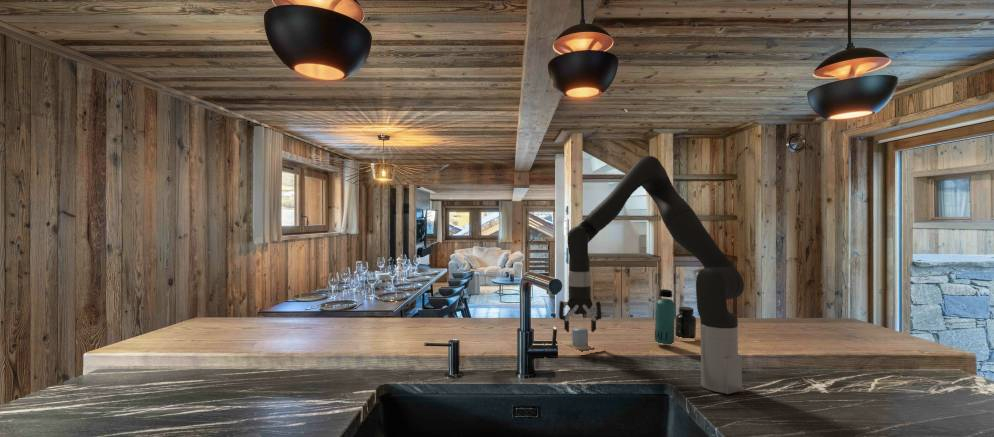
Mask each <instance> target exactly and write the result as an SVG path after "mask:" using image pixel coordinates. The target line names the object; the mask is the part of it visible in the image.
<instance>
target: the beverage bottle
mask: <svg viewBox="0 0 994 437" xmlns="http://www.w3.org/2000/svg"><path fill="white" fill-rule="evenodd" d="M659 296H660V297H661V298H659V299H657V300H656V301H655V314H654V315H655V316H654V318H655V323H654V325H655V326H654V341H656V342H658V343H663V344H672V343H673V344H674V342H675V310H676V306H675V305H676V303H675V302H674V300H672V299H670V298H672V297H673V291H672V290H670V289H664V288H663V289H660V290H659ZM656 342H655V343H656ZM658 343H657V344H658ZM673 344H672V345H673Z"/></svg>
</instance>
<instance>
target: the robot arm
mask: <svg viewBox="0 0 994 437" xmlns="http://www.w3.org/2000/svg"><path fill="white" fill-rule="evenodd" d="M641 187H642V188H643V189H644V190H645V191H646V193H647V194H648V195H649V196H650V198H651V199H652V200H653V202H654V203H655V205H656V206H657V208H658V212H659V215H660V217H661V219H662V222H663V223H664V226H665V227H666V229H667V230H668V232H669V234H670V235H671V237H672V239H673V240H674V241H675V242H676V243H677V244H678V245H680V246H681V248H683V249H684V250H686V251H687V252H688V253H690V254H691V255H692V256H694V257H695V258H696V259H697V260H698V261H699V262H700V263H701V265H702V266H703V267H704V268H702V269H700V270H699V272H698V274H697V276H696V281H695V294H696V295H695V296H696V297H695V298H696V309H697V312H698V313H697V314H698V316H699V319H700V320H699V321H700V384H701V386H702V387H703V388H704V389H706V390H709V391H712V392H715V393H716V392H717V393H721V394H722V393H723V394H726V395H729V394H733V393H737V392H741V391H743V377H742V376H743V374H742V373H743V364H742V363H743V361H742V360H743V358H742V355H741V354H739V336H738V335H739V334H738V333H739V332H738V330H739V328H738V327H739V325H738V322H739V321H738V320H739V319H738V316H737V315H736V314H734V313H733V312H730V311H729V309H728V305H727V304H728V302H727V300H733V299H736V298H739V297H740V296H741V295H742V294H743V292H744V290H745V281H744V279H743V276H742V274H741V273H740V271H739V270H738V269H737V268H736V266H735V265H734V264H733V263H732V262H731V260H730V258H728V257H727V255H726V254H724V252H723V251H722V250H721V249H720V248H719V246H718V244H717V243H716V242H715V240H714V239H713V237H712V236H711V235H710V233H709V232H708V230H707V229H706V228H705V226H704V225H703V223H702V221H701V220H700V218H699V217H698V215H697V214H696V212H695V211H694V209H693V208H692V207H691V206H690V205H689V204H688V202H687V201H685V199H683V197H682V196H680V194H679V193H678V192H677V190H676V189H675V186H674V185H673V184H672V182H671V179H670V177H669V175H668V173H667V171H666V168H665V167H664V166H663V164H662V163H661V161H660V159H658V158H657V157H656V156H652V155H647V156H643V157H641V158H640V159H638V160H637V161H636V162H635V163H634V164H633V166H631V168H630V169H629V171H628V172H627V173H626V174H625V176H624V177H623V178H622V179H621V180H620V181H619V183H618V184H616V186H615V187H614V189H613V190H612V191H610V194H608V195H607V197H605V198H604V199H603V200H602V201H601V202H600V203H599V204H598V205H597V206H596V207H594V209H592V210H591V211H590V212H589V213H588V215H587V217H585V218H584V220H582V221H581V222H580V223H579V224H577V225H576V226H574V227H572V228H571V229H569V231H568V233H567V250H568V257H569V258H568V279H567V280H568V299H567V300H568V301H562V300H559V306H558V318H559V320H562V321H564V323H563V324H564V327H563V328H564V330H565V331H566V333H569V332H570V321H569V320H570V318H571V317H573V315H574V314H575V315H586V314H587V315H588V316H589V317H590V319H591V320H590V331H591V333H594V332H595V331H596V329H597V321H599V320H602V308H601V302H600V301H599V300H596V301H592V296H591V295H592V294H591V292H592V288H591V285H592V279H591V272H590V271H591V270H590V269H591V268H590V267H591V266H590V264H591V263H590V256H589V242H591V241H592V240H593V239H594V238H595V237H596V236H597V235H598V233H600V231H602V230H604V229H605V228H606V227H607V226H608V225H609V224H610V223H611V222H612V221H614V219H616V218H617V217H618V215H619V214H620V213H621V212H622V210H623V208H624V206H625V205H626V204H627V202H628V200H629V198H630V197H631V196H632V195H633V194H634V192H636V191H637V190H638V189H639V188H641ZM567 306H568V308H569V310H568V311H567V313H566V314H565V315H564V309H565V308H566V307H567ZM592 307H594V308H595V311H596V315H594V314H593V313H592V311H591V310H590V309H591V308H592Z"/></svg>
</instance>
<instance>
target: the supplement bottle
mask: <svg viewBox="0 0 994 437" xmlns="http://www.w3.org/2000/svg"><path fill="white" fill-rule="evenodd" d="M678 308H679V309H678V314H676V316H675V326H674V336H675V335H676V336H678V337H682V338H695V337H697V336H696V335H697V334H696V333H697V332H696V331H697V318H696V316H695V315H694V308H693V307H691V306H679V307H678ZM695 339H696V338H695Z"/></svg>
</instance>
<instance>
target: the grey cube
mask: <svg viewBox="0 0 994 437" xmlns="http://www.w3.org/2000/svg"><path fill="white" fill-rule="evenodd" d="M571 341H572V345H574V346H587V345H588V341H589V331H588V328H586V327H580V326H579V327H573V328H572V329H571Z"/></svg>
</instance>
